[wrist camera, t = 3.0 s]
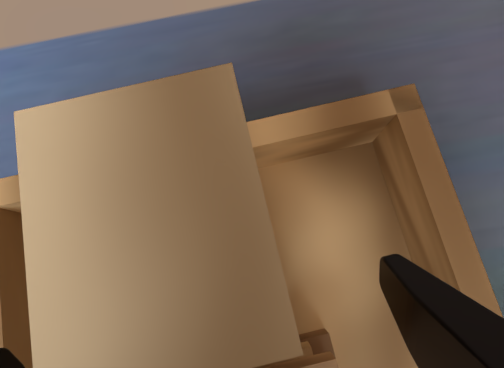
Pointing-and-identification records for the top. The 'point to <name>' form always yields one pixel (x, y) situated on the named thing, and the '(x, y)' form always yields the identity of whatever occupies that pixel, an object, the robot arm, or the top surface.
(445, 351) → the robot arm
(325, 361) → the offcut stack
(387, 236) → the pine rack
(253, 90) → the top surface
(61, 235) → the square wooden post
